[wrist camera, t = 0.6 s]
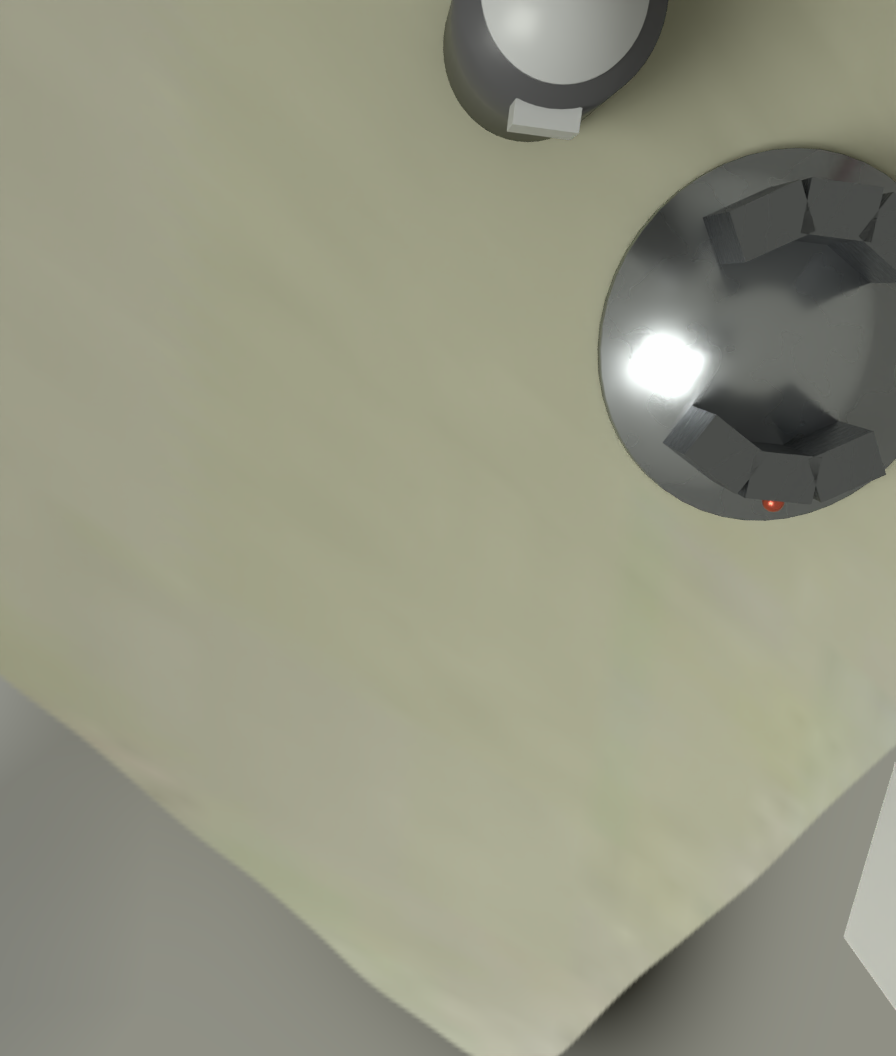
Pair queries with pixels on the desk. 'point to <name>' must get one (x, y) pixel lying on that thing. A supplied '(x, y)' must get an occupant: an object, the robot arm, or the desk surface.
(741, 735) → the desk surface
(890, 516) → the desk surface
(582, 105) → the dark grey short cylinder
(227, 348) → the desk surface
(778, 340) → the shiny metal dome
